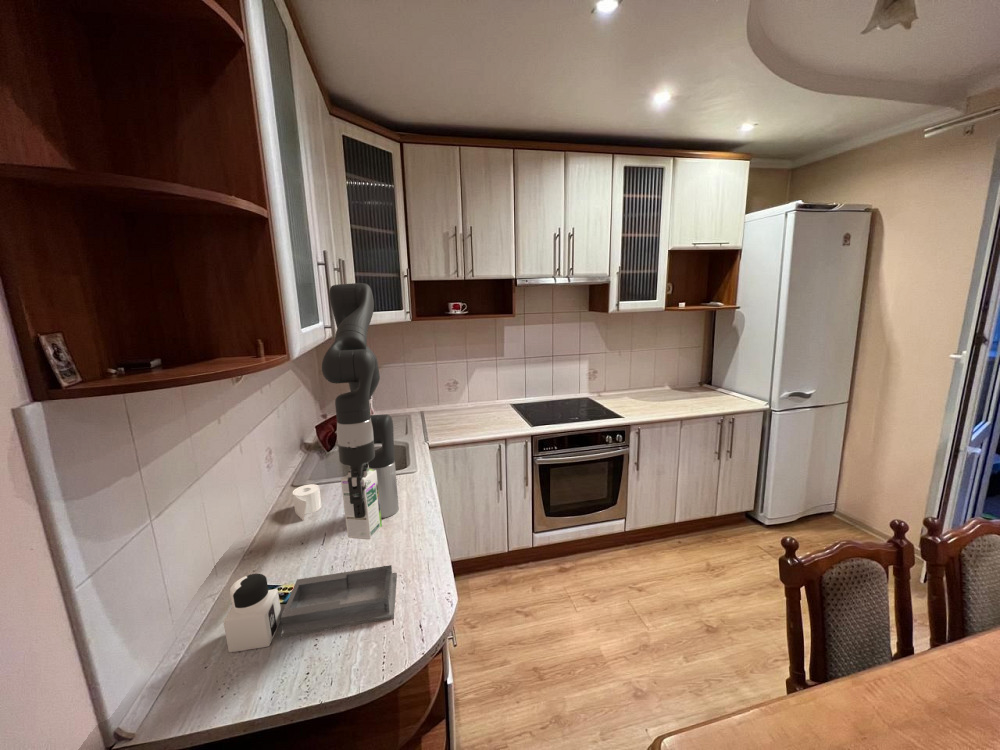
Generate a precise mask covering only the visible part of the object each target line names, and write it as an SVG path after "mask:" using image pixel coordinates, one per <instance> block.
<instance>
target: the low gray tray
mask: <svg viewBox="0 0 1000 750" xmlns="http://www.w3.org/2000/svg"><path fill="white" fill-rule="evenodd" d="M392 568H393V567H392V565H385V566H384V565H383V566H377V567H370V568H364V569H358V570H352V571H344V572H338V573H332V574H331V573H330V574H325V575H324V574H323V575H318V576H312V577H305V578H299V579H296V581H295V584H294V586H293V588H292V591H291V593H290V595H289V597H288V600H287V603H286V605H285V607H284V610H283V611H282V613H281V614H282V616H281V622H280V623H281V628H282V631H281V638H283V639H284V638H288V637H294V636H298V635H304V634H310V633H311V634H312V633H317V632H320V631H321V632H322V631H326V630H333V629H338V628H339V629H340V628H345V627H350V626H355V625H357V626H358V625H362V624H367V623H372V622H379V621H384V620H385V621H386V620H390V619H394V618H395V611H396V610H395V609H396V595H397V579H398V574H397V573H398V572H393V569H392Z"/></svg>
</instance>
